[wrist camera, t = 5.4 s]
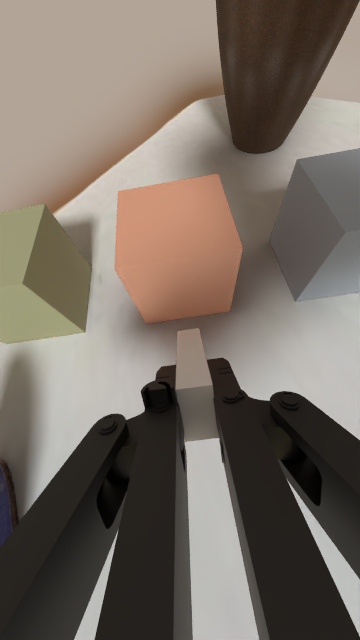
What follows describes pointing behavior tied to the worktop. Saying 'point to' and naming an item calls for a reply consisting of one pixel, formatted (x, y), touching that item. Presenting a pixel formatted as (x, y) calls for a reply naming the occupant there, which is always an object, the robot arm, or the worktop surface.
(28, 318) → the olive block
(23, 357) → the worktop surface
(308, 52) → the plant pot
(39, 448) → the worktop surface
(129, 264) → the terracotta block
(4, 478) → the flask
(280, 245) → the slate block
